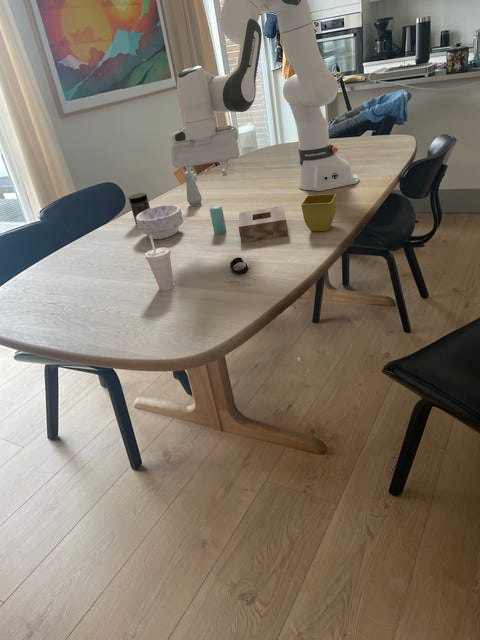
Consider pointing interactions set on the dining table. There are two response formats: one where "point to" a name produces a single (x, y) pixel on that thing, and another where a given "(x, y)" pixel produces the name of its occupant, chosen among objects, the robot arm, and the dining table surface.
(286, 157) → the dining table surface
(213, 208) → the dowel
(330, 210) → the flower pot
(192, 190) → the salt shaker
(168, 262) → the smoothie
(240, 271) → the watch
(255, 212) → the bore block
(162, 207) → the paper bowls
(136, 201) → the supplement container
